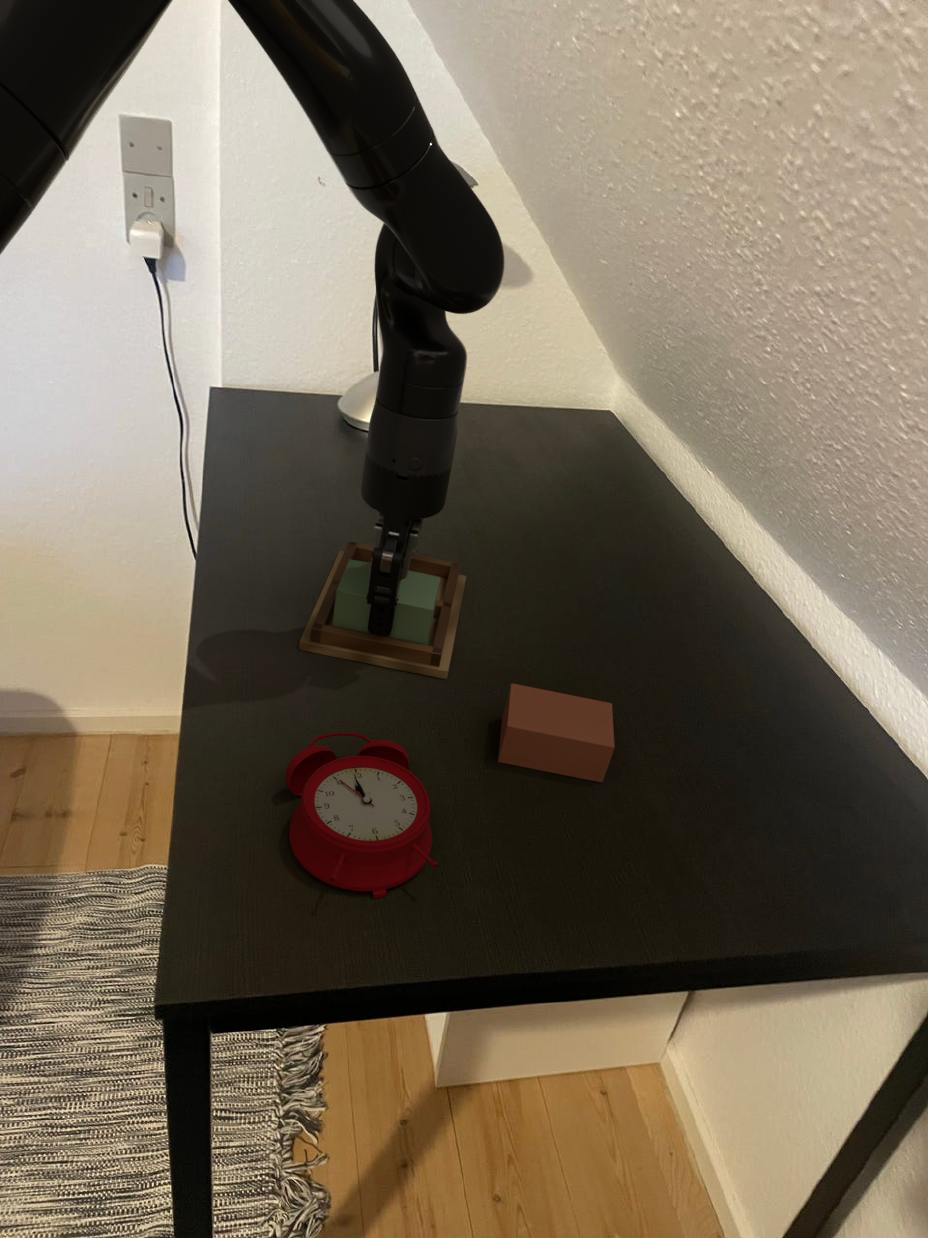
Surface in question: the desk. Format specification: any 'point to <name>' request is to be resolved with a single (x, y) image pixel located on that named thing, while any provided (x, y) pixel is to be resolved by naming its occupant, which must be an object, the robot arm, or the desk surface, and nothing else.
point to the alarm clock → (359, 816)
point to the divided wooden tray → (385, 649)
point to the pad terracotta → (557, 733)
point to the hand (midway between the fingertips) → (385, 613)
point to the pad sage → (409, 612)
